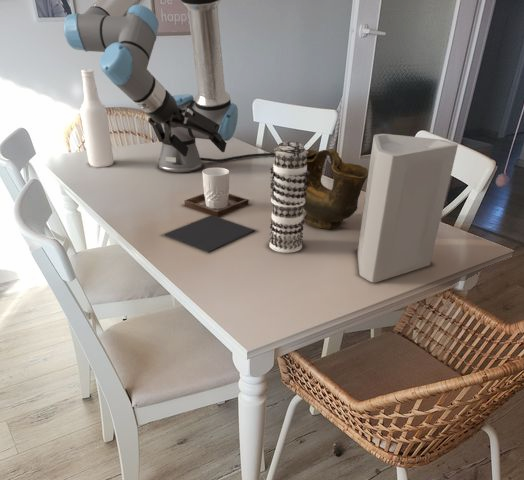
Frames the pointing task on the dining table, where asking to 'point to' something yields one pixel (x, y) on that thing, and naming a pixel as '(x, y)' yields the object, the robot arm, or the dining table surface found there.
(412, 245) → the white triangular vase
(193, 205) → the wooden frame
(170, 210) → the dining table surface
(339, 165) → the pottery vessel
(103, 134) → the alcohol
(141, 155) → the dining table surface
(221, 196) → the white cup
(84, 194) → the dining table surface
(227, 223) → the mat
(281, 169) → the decorative candle
